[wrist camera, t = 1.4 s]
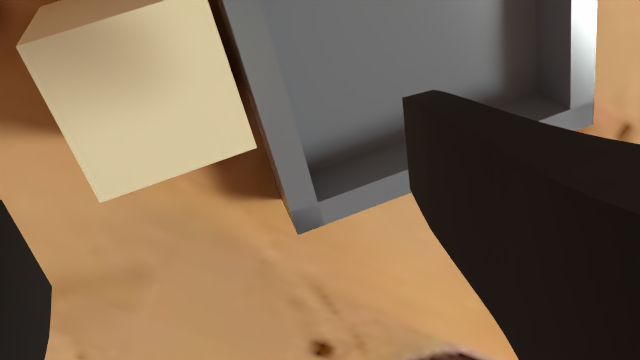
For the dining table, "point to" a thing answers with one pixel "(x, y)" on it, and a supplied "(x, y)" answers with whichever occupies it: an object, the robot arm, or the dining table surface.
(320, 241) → the dining table surface
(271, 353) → the dining table surface
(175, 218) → the dining table surface
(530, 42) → the slate tray
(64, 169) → the dining table surface
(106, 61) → the cheese cube
